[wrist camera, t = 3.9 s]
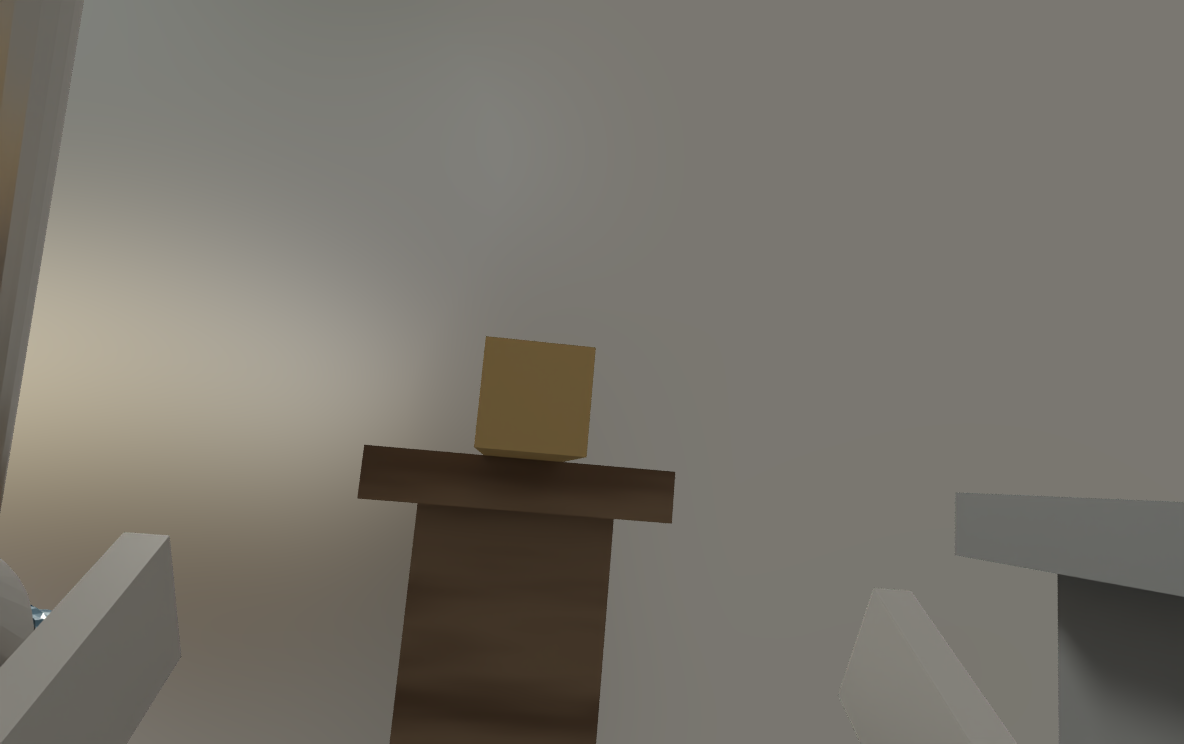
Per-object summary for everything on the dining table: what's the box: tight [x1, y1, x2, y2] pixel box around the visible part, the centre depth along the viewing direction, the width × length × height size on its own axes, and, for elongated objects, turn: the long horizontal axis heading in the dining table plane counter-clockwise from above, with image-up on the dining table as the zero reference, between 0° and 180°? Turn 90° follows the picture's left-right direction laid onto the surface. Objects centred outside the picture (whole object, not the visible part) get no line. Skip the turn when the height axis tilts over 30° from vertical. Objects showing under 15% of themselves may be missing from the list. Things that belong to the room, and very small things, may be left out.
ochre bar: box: [474, 336, 596, 462], centre depth 31 cm, size 22×3×3 cm, turn 7°
